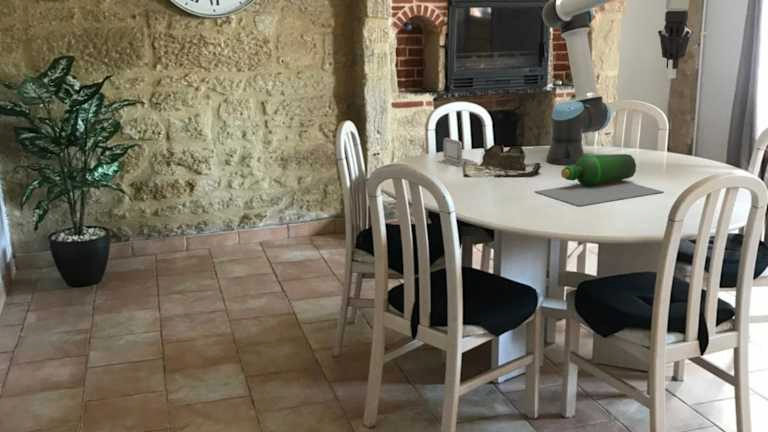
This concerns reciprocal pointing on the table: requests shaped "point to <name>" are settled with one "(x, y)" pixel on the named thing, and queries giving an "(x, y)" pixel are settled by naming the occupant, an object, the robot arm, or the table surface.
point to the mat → (598, 193)
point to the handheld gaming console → (454, 153)
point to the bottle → (600, 169)
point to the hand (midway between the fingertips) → (671, 78)
